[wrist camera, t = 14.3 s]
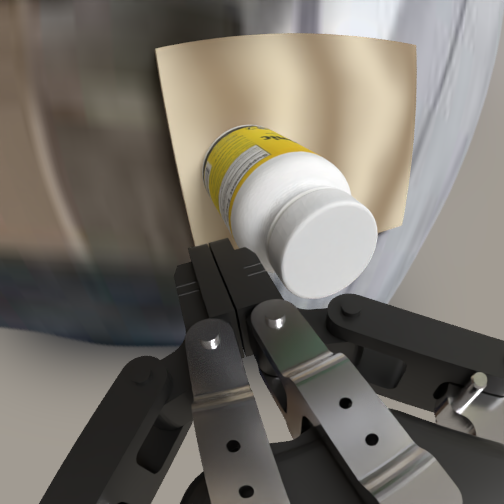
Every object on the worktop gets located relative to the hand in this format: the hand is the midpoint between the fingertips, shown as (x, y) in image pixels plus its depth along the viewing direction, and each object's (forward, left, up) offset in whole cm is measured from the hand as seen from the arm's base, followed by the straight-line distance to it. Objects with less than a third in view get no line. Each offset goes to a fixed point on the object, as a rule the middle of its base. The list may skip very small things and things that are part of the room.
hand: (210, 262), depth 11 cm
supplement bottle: (+4, 0, -8) cm, 9 cm away
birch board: (+9, 0, -9) cm, 13 cm away
